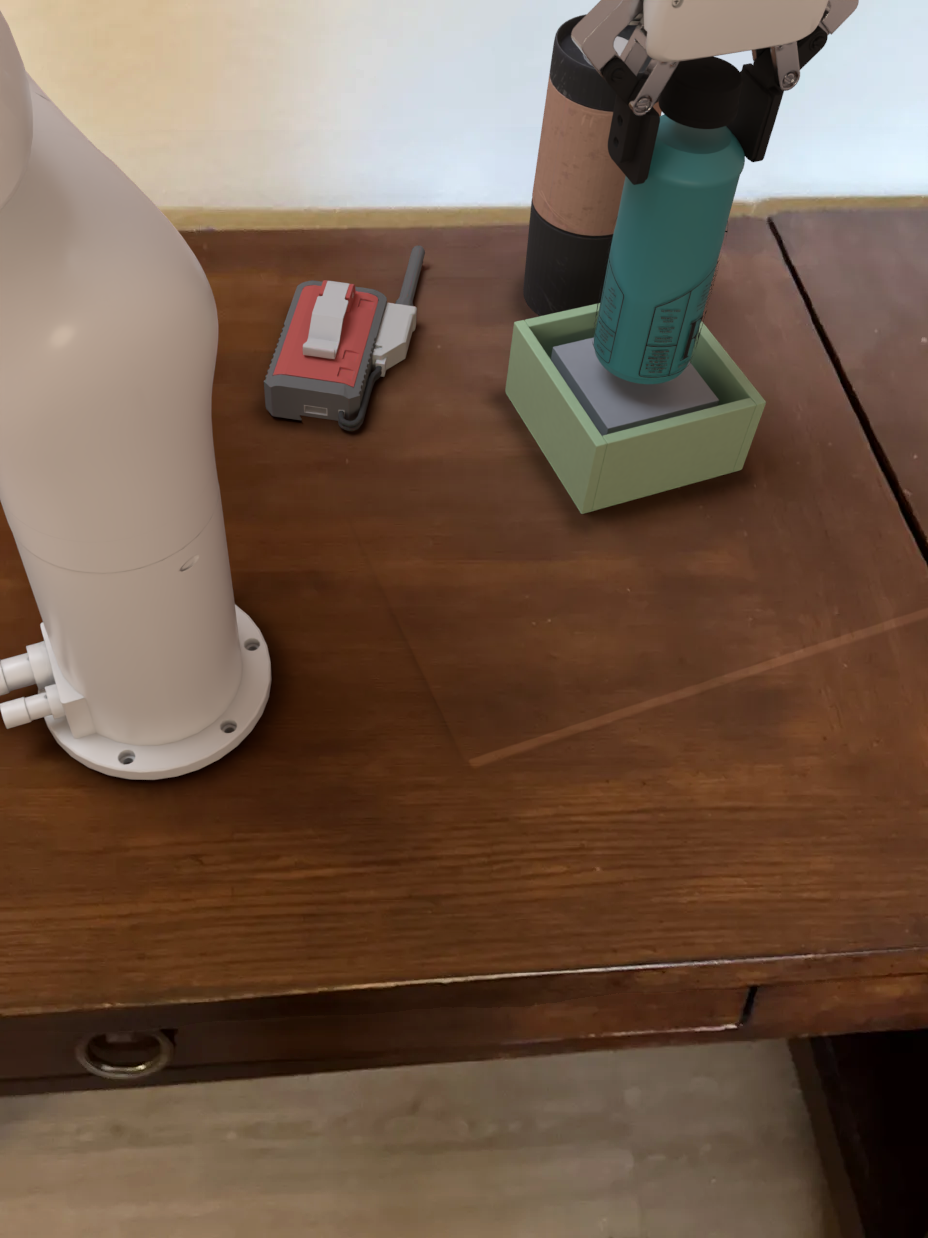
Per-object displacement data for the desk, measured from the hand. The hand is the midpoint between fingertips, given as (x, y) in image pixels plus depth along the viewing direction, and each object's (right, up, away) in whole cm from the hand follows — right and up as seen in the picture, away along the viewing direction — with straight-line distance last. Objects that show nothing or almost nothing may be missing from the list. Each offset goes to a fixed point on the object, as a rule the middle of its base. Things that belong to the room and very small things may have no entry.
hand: (686, 156), depth 66 cm
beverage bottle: (-1, -9, +12) cm, 15 cm away
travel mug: (-4, -1, +25) cm, 26 cm away
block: (-1, -12, +16) cm, 20 cm away
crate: (-1, -13, +17) cm, 21 cm away
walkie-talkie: (-20, -5, +21) cm, 30 cm away
